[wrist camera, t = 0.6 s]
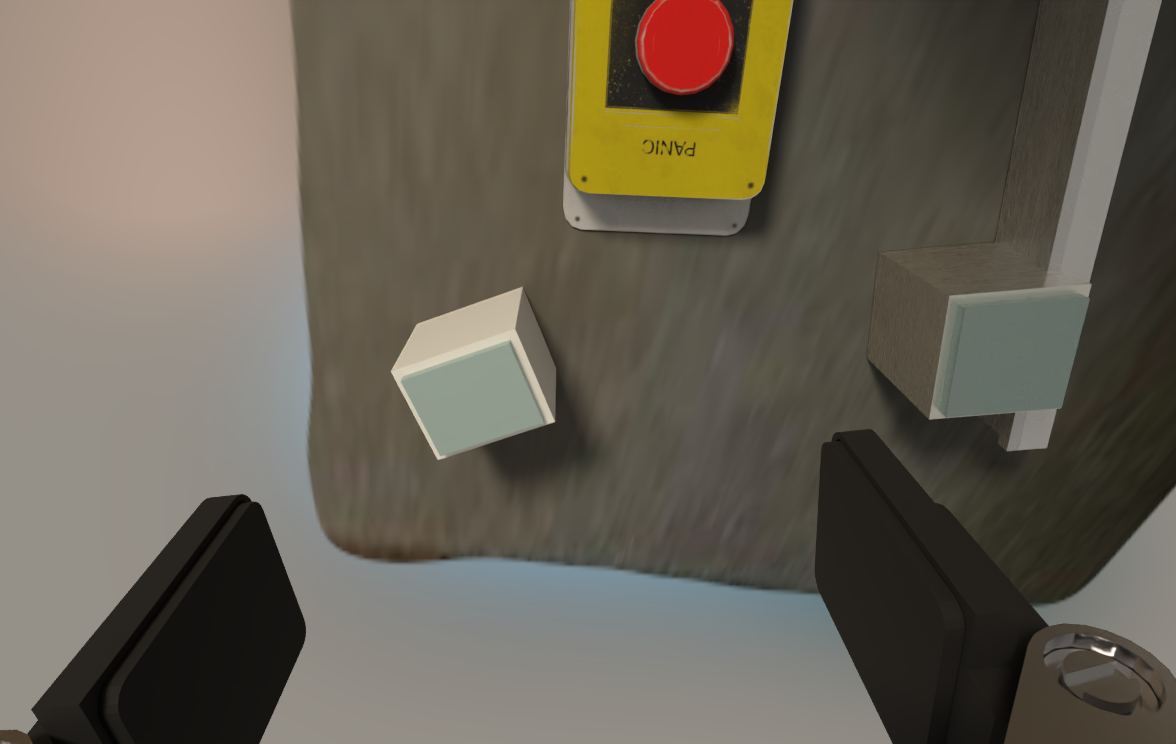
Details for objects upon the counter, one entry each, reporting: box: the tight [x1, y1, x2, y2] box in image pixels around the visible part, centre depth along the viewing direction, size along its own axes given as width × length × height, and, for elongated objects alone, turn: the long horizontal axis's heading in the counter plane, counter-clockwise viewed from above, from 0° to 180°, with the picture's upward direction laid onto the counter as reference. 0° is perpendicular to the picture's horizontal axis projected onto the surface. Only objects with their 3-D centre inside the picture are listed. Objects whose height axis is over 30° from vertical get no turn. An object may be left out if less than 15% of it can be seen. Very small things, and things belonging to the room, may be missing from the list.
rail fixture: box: [867, 0, 1162, 451], centre depth 27 cm, size 38×8×8 cm, turn 4°
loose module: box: [391, 287, 556, 460], centre depth 33 cm, size 5×6×6 cm
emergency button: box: [563, 0, 793, 236], centre depth 29 cm, size 9×4×15 cm
